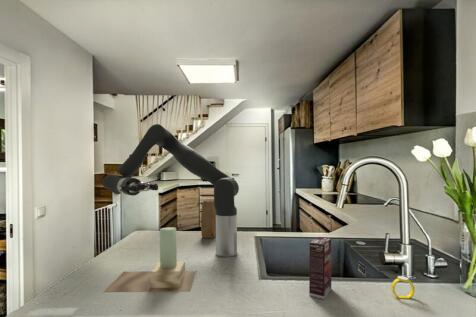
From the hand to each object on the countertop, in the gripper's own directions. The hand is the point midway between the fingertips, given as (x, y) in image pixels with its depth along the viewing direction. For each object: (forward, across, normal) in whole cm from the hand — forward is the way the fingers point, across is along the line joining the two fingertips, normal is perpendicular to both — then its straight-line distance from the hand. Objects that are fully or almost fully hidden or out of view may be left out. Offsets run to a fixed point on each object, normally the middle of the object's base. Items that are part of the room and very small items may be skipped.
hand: (147, 188), depth 111 cm
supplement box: (+60, +26, +30) cm, 72 cm away
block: (-17, +45, +30) cm, 57 cm away
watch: (+79, +40, +30) cm, 93 cm away
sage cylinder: (+22, -4, +24) cm, 33 cm away
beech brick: (+22, -4, +29) cm, 37 cm away
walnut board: (+18, -7, +30) cm, 36 cm away
